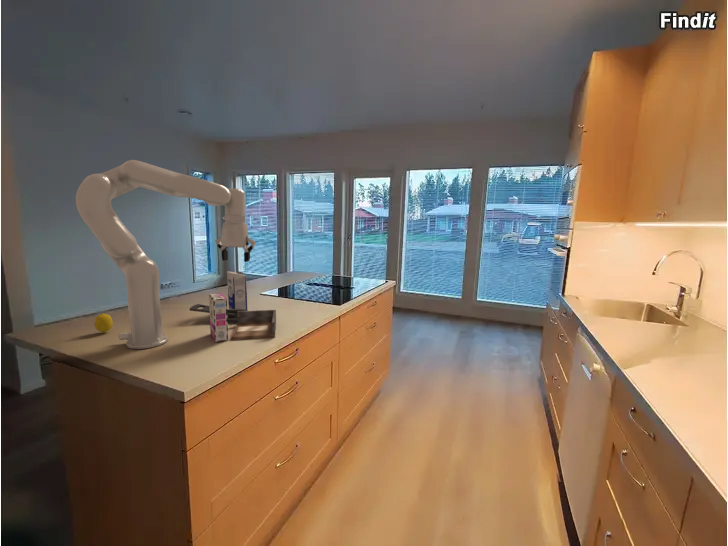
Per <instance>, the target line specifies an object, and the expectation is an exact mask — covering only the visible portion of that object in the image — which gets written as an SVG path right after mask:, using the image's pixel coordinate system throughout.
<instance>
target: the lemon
mask: <svg viewBox="0 0 728 546" xmlns="http://www.w3.org/2000/svg"><path fill="white" fill-rule="evenodd" d="M113 324H114V323H113V319H112V317H111V315H109V314H108V313H107V314H106V313H100V314H99V315H98V316H96V317H95V320H94V327H95V329H96V330H97V332H101V333H103V334H105V332H106V333H107V332H108V331H110V330H111V329H112V328H113V326H114V325H113Z"/></svg>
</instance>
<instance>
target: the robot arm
mask: <svg viewBox="0 0 728 546" xmlns="http://www.w3.org/2000/svg"><path fill="white" fill-rule="evenodd" d="M137 188H143V189H145V190H150V191H153V192H156V193H157V192H158V193H161V194H165V195H169V196H172V197H178V198H190V199H195V200H200V201H204V203H206V204H208V205H209V206H212V207H217V206H218V207H220V206H224V207H225V208H224V215H223V216H222V220H224V221H225V222H223V223H222V228H221V236H220V237H219V238H217V239H215V240H214V241H215V243H216V245H217V247H218V248H219V250H220V252H221V260H222V261H223V262H224V261H228V260H229V255H228V252H229V251H228V248H237V249H238V248H242V249H243V250H244V253H243V261H244V262H245V263H246V262H250V260H251V253H252V250H254V248H255V246H256V244H257V242H256V241H255V240H254V239H252V238H250V236H249V230H248V229H249V228H248V225H247V223H246V196H245V191H244V190H243V189H240V188H230V187H229V188H227V187H226V186H224V185H222V184H219V183H216V182H214V181H209V180H207V179H203V178H199V177H195V176H192V175H187V174H184V173H179V172H176V171H174V170H170V169H166V168H163V167H159V166H157V165H153V164H151V163H147V162H144V161H140V160H138V159H137V160H136V159H130V160H126V161H125V162H124V163H123V164H122V163H121V165H119V166H116V167H114V168H111V169H108V170H105V171H103V172H100V173H91V174H90V175H87V176H86V177H85V178H84V179H83V181H82V182H81V183H80V185H79V186H78V189H77V191H76V193H75V194H76V195H75V204H76V209H77V211H78V213H79V216H80V218H81V219H82V220H83V221H84V223H85V224H86V225H87V227H88V228H89V229H90V231H91V233H92V234H93V235H94V236H95V237H96V239H97V240H98V241H99V243H100V245H101V247H102V249H103V251H105V252H106V254H107V255H108V256H109V257H110V259H111V260H112V261H113V262H114V263H115V265H116V266H117V267H118V268H119V269H120V271H121V272H122V273H123V275H124V277H125V281H126V297H127V300H126V301H127V308H128V317H129V327H130V330H129V332H119V333H118V336H117V337H118V338H119V341H122V340H123V341H124V340H127V341H126V343H125V344H126V347H127V348H128V349H132V350H143V349H144V350H145V349H152V348H154V347H158V346H159V347H160V346H161V345H163V344H165V343H166V342H168V339H169V337H168V335H166V334H163V325H162V324H163V323H162V311H161V310H162V309H161V300H160V299H161V298H160V297H161V296H160V271H159V267H158V264H157V263H156V262H155V261H154V260H152V259H151V258H150V257H148V255H146V253H145V252H144V251H143V249H142V248H141V247H140V246H139V244H138V242H137V239H136V237H135V236H134V235H133V234H132V233H131V232H130V231H129V229H128V228H127V227H126V226H125V224H124V223H123V221H121V219H120V218H119V216H118V215H117V213H116V212H115V210H114V209H113V206H112V200H113V199H115V198H116V197H119V196H122V195H124V194H126V193H129V192H131V191H133V190H135V189H137ZM249 243H250V244H249Z"/></svg>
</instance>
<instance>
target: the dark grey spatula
mask: <svg viewBox="0 0 728 546" xmlns="http://www.w3.org/2000/svg"><path fill="white" fill-rule="evenodd" d="M189 311H191V312H200V313H208V314H210V309H209V305H205V304H202V303H201V304H200V303H198V304H193V305H192V306H191V307H189ZM237 311H249V310H248V309H247V310H246V309H229V308H227V321H228V324H236V325H237V323H238V319H237Z"/></svg>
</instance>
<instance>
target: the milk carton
mask: <svg viewBox="0 0 728 546" xmlns="http://www.w3.org/2000/svg"><path fill="white" fill-rule="evenodd" d="M226 274H227V276H226V277H227V304H228V309H246V310H248V296H247V295H248V291H247V286H248V285H247V275H246V274H244V272H243V271H240V270H237V272H235V271H226Z"/></svg>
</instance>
